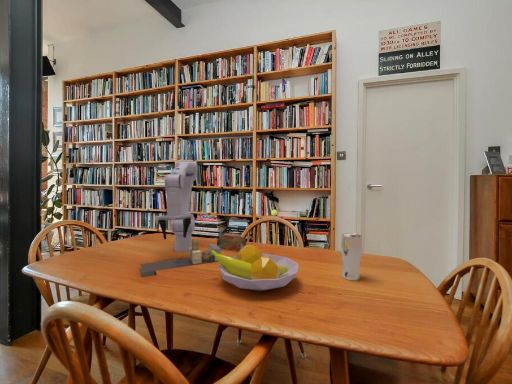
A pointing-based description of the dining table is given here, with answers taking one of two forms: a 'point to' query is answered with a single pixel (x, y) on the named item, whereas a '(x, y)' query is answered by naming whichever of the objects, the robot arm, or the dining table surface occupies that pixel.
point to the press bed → (175, 263)
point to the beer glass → (351, 255)
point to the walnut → (206, 255)
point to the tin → (231, 242)
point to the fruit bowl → (256, 269)
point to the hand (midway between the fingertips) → (174, 237)
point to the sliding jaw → (195, 252)
